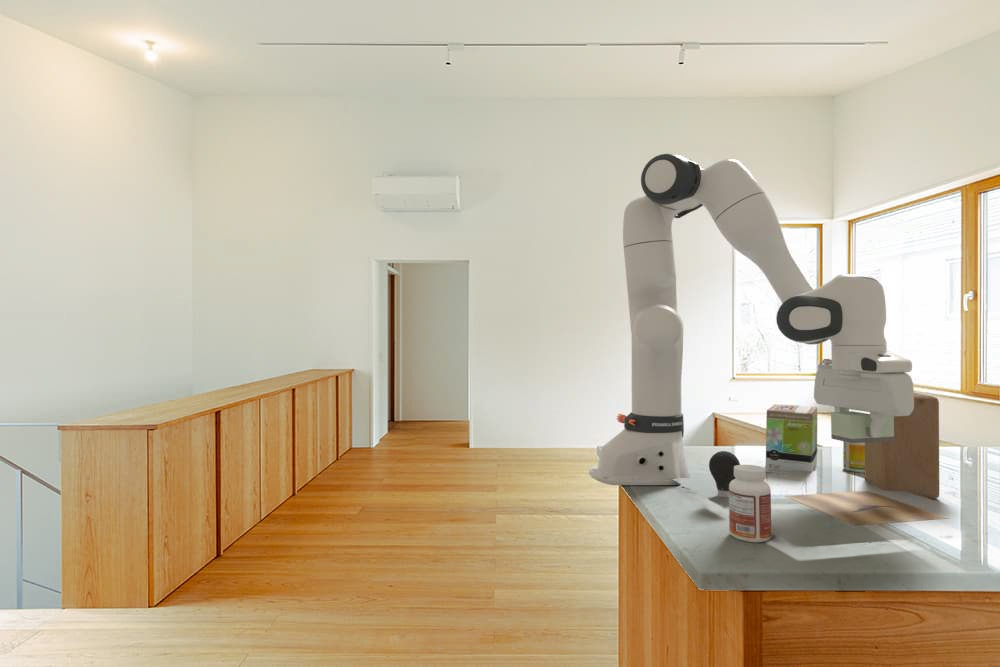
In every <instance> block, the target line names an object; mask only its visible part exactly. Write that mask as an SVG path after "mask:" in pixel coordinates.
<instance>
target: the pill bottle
mask: <svg viewBox="0 0 1000 667" xmlns="http://www.w3.org/2000/svg"><path fill="white" fill-rule="evenodd" d="M766 474H767V472H766V467H763V466H760V465H755V464H754V465H753V464H740V465H736V466H734V476H735V479H734V480H732V481H731V482H730V484H729V498H728V504H729V506H728V507H729V508H728V510H729V511H728V512H729V513H728V514H729V517H728V518H729V519H728V520H729V525H728V526H729V534H730V535H731V536H732V537H733V538H735V539H737V540H740V541H743V542H748V543H764V542H767V541H769V540H771V539H772V495H771V494H772V493H771V487H770V484H769V483H768V482H766V481H765V480H764V479H765V478H766Z"/></svg>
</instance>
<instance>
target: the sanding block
mask: <svg viewBox="0 0 1000 667" xmlns="http://www.w3.org/2000/svg"><path fill="white" fill-rule="evenodd" d="M872 420H873V419H871V418H870V412H865V411H859V410H853V411H849V412H833V411H832V412H830V424H831V425H830V429H831V430H830V431H831V432H830V434H831V440H835V441H840V442H843V441H844V442H848V443H866V442H882V441H894V416H889V415H886V421H885V422H884V424H883V426H882V427H881V436H880V437H878V438H873V437H869V436H867V435H866V432H867V431H866V427H870V425H871V422H872Z"/></svg>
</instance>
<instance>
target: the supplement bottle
mask: <svg viewBox="0 0 1000 667" xmlns="http://www.w3.org/2000/svg"><path fill="white" fill-rule="evenodd" d="M842 443H843V444H842V445H843V452H842V454H843V455H842V458H843V460H842V461H843V462H842V463H843V465H842V466H843V469H844V470H845V471H847V472H848V471H849V472H854V473H860V474H861V473H864V474H865V443H848V442H844V441H842Z"/></svg>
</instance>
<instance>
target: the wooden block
mask: <svg viewBox="0 0 1000 667" xmlns="http://www.w3.org/2000/svg"><path fill="white" fill-rule="evenodd" d="M939 408H940V402H939V399H938V398H937V397H936V396H932V395H927V394H923V393H918V392H914V409H913V411H912V412H911V414H910V415H909V416H894V441H882V442H866V443H865V472H864V479H865V480H866V481H868V482H869V483H871V484H873V485H875V487H877V488H879V489H881V490H884V491H890V492H891V491H892V492H907V493H909V494H913V495H915V496H920V497H922V498H926V499H929V500H935V499H938V498H939V497H940V409H939Z"/></svg>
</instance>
